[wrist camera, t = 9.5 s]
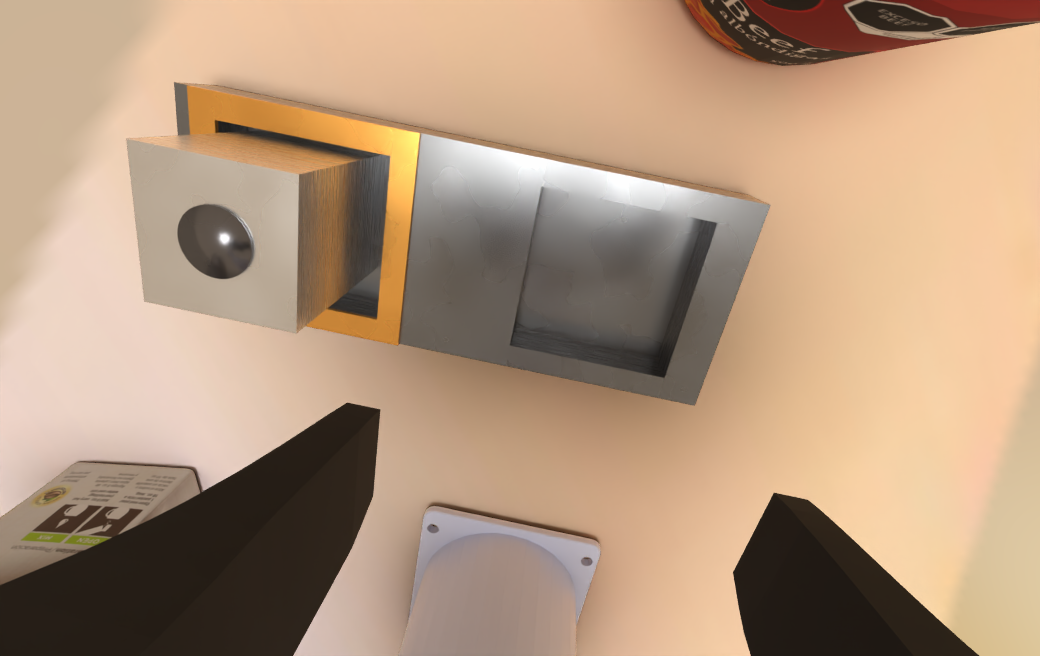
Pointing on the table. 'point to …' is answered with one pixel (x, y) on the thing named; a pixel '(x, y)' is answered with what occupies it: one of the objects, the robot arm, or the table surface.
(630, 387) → the rail
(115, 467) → the coffee box
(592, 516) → the table surface
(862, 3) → the canned food
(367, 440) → the robot arm
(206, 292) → the silver square slider
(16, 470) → the table surface
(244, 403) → the table surface
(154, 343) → the table surface
